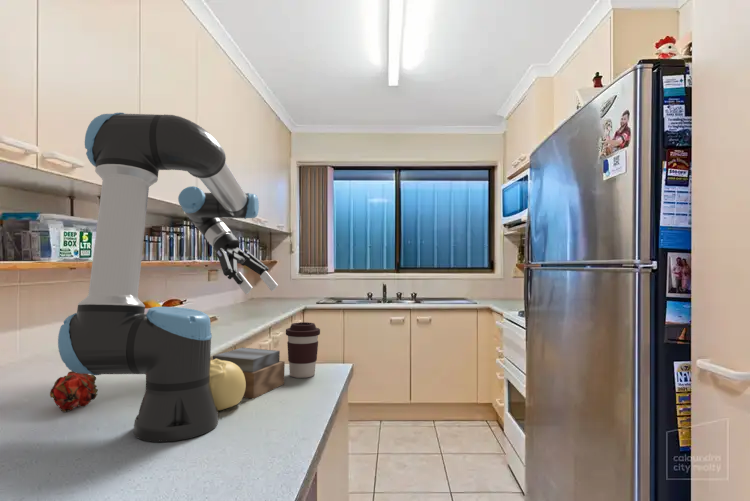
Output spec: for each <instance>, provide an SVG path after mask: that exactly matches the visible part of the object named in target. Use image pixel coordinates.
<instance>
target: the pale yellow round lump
mask: <svg viewBox="0 0 750 501" xmlns="http://www.w3.org/2000/svg"><path fill="white" fill-rule="evenodd" d="M210 388H211V391H212V395H213V398H214V403H215V406H216V407H217V410H218V412H219V411H222V410H225V409H229V408H232V407H235V406H237V405H238V404H239V403H240V402H241V401H242V400H243V398H244V397H243V396H244V393H245V388H246V381H245V376H244V374H243V372H242V370H241V369H240V367H239V366H238V365H236V364H235V363H232V362H230V361H224V360H219V359H214V360H213V359H210Z"/></svg>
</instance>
